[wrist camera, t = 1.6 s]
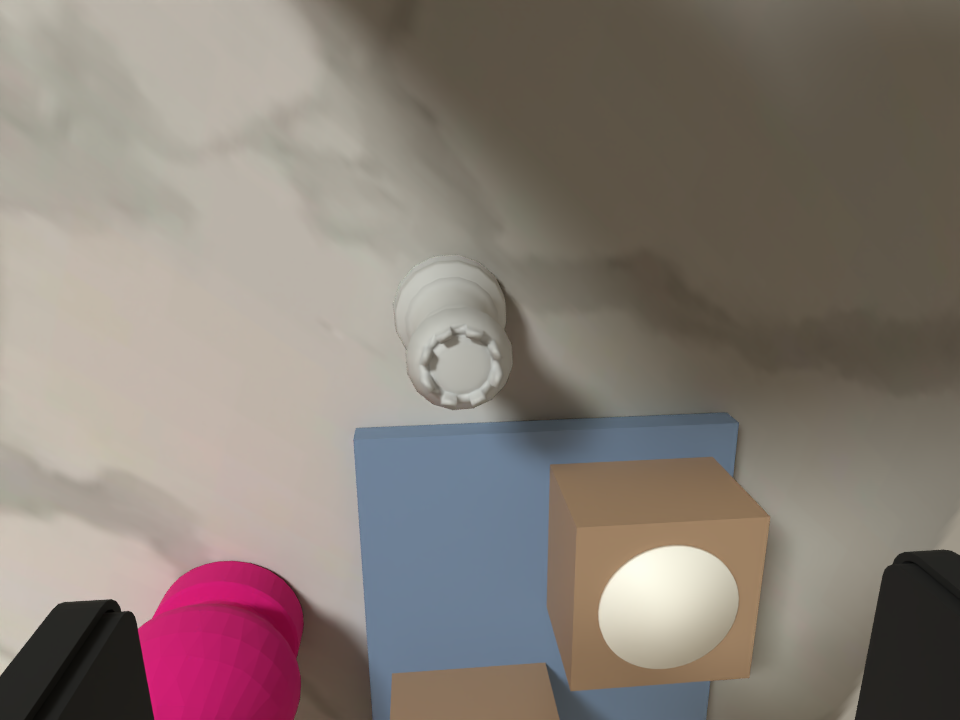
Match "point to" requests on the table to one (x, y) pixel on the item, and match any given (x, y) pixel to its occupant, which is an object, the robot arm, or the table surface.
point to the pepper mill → (224, 646)
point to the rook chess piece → (453, 331)
